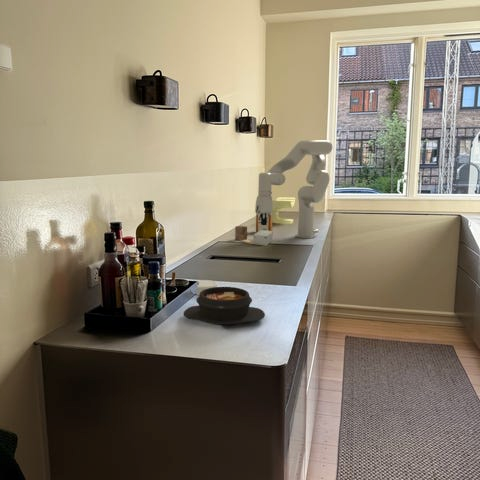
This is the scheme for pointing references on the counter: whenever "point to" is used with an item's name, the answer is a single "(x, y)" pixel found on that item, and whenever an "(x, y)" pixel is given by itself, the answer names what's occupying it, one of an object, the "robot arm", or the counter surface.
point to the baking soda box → (264, 227)
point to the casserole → (224, 307)
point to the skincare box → (263, 237)
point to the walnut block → (241, 233)
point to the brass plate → (247, 241)
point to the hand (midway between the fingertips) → (263, 224)
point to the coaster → (205, 285)
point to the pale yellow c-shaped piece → (282, 203)
